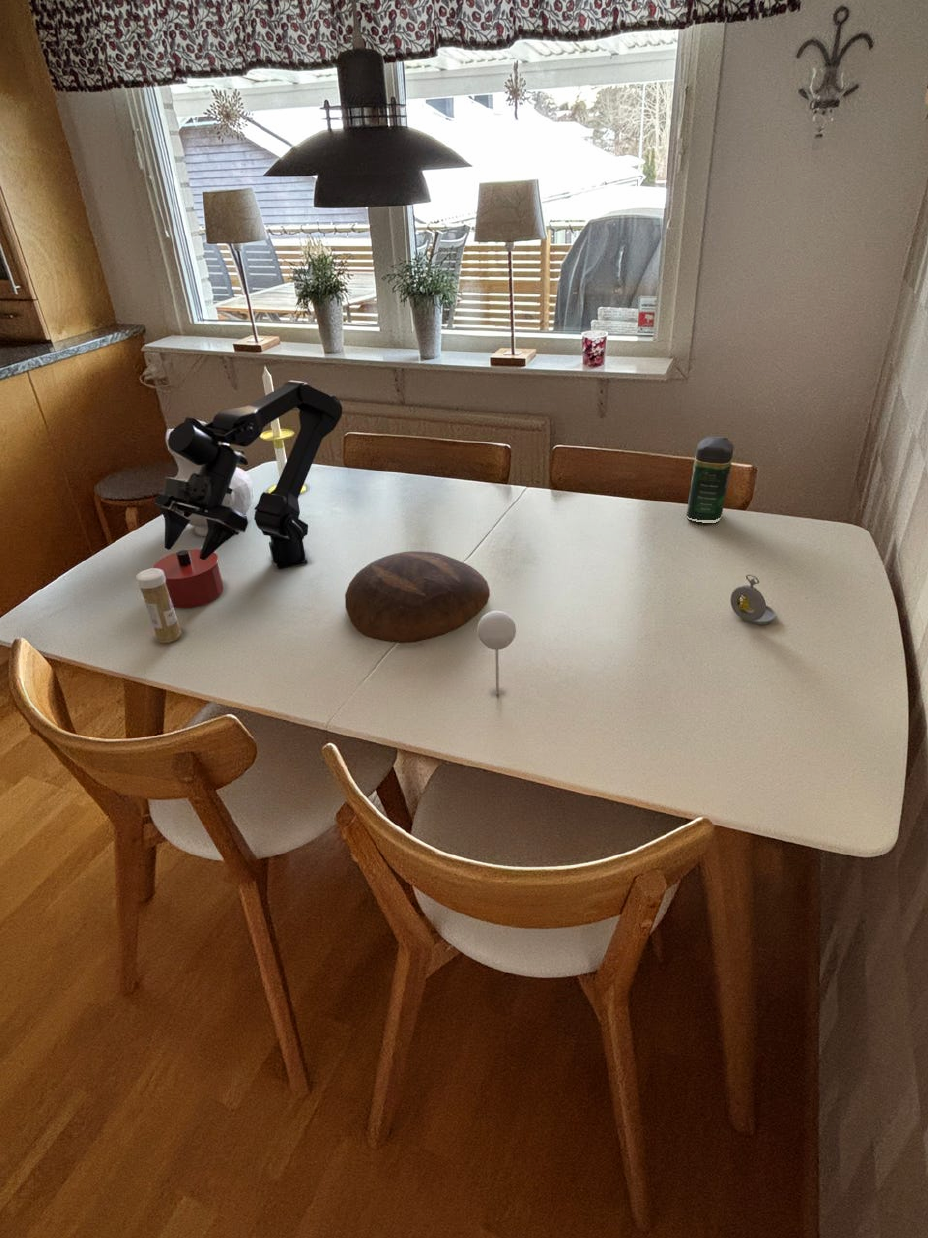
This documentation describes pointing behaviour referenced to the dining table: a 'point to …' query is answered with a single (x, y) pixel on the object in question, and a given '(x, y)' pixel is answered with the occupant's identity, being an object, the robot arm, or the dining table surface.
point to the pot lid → (186, 565)
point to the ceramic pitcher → (235, 500)
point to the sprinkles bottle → (159, 605)
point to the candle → (276, 432)
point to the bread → (414, 597)
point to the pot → (196, 589)
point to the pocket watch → (751, 604)
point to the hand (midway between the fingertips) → (184, 554)
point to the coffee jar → (710, 479)
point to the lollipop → (496, 634)
